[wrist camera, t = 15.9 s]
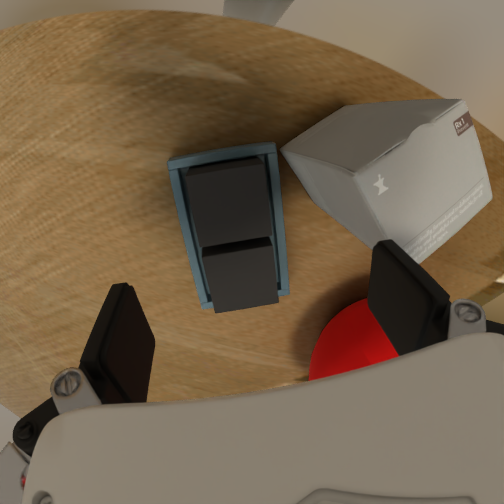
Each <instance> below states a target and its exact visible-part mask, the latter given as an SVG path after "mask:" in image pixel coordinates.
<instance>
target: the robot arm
mask: <svg viewBox="0 0 504 504" xmlns="http://www.w3.org/2000/svg"><path fill="white" fill-rule="evenodd" d="M449 298H450V295H449V294H448V293H447V292H446V291H445V290H444V289H443V288H442V287H441V286H440V285H439V284H438V283H437V282H436V281H435V280H434V279H433V278H432V277H431V276H430V275H429V274H428V273H427V272H426V271H425V270H424V269H423V268H422V267H421V266H420V265H419V264H418V263H417V262H416V261H415V260H414V259H413V258H411V257H410V256H409V255H408V254H407V253H406V252H405V251H404V250H403V249H402V248H401V247H400V246H399V245H398V244H396V243H395V242H394V241H393V240H392V239H388V240H382V241H378V242H377V244H376V245H375V246H374V247H373V252H372V263H371V273H370V282H369V290H368V298H367V304H368V307H369V309H370V311H371V312H372V314H373V315H374V317H375V318H376V320H377V321H378V323H379V325H380V326H381V328H382V329H383V331H384V332H385V334H386V336H387V337H388V339H389V340H390V342H391V344H392V345H393V347H394V348H395V350H396V352H397V353H398V355H399V356H398V357H395V358H392V359H389V360H386V361H383V362H380V363H376V364H373V365H369V366H366V367H363V368H359V369H355V370H352V371H348V372H344V373H340V374H336V375H332V376H328V377H324V378H320V379H316V380H311V381H307V382H302V383H297V384H293V385H288V386H282V387H277V388H272V389H266V390H260V391H254V392H247V393H240V394H233V395H226V396H218V397H209V398H200V399H189V400H177V401H162V402H146V400H147V393H148V386H149V380H150V373H151V367H152V361H153V355H154V349H155V338H154V335H153V333H152V331H151V328H150V326H149V324H148V322H147V319H146V317H145V315H144V312H143V310H142V307H141V305H140V302H139V300H138V298H137V295H136V292H135V290H134V288H133V286H129V285H128V283H119V284H113V285H112V286H111V288H110V290H109V293H108V295H107V297H106V299H105V301H104V304H103V306H102V308H101V310H100V313H99V315H98V317H97V320H96V322H95V324H94V327H93V329H92V332H91V334H90V336H89V339H88V341H87V344H86V346H85V349H84V352H83V354H82V357H81V359H80V365H79V368H74V367H71V368H66V369H64V370H62V371H61V372H59V373H58V374H57V375H56V376H55V377H54V379H53V381H52V383H51V387H50V391H51V395H52V397H51V398H49V399H48V400H46V401H45V402H44V403H42V404H41V405H40V406H38V407H37V408H35V409H34V410H33V411H31V412H30V413H28V414H27V415H26V416H24V417H23V418H21V419H20V420H19V421H18V422H17V424H16V425H15V427H14V430H13V441H14V442H13V443H11V442H8V444H7V445H6V446H5V447H4V448H3V450H2V451H1V452H0V504H504V324H500V323H496V322H493V321H489V320H486V316H485V312H484V310H483V309H482V307H481V306H480V305H479V304H478V303H476V302H474V301H472V300H469V299H458V300H456V301H454V302H453V303H451V302H450V301H449Z"/></svg>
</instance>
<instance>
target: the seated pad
mask: <svg viewBox="0 0 504 504" xmlns="http://www.w3.org/2000/svg"><path fill="white" fill-rule="evenodd" d="M202 262H203V266H204V270H205V274H206V278H207V283H208V287H209V291H210V295H211V299H212V303H213V307H214V311H215V313H222V312H228V311H234V310H240V309H246V308H252V307H257V306H263V305H269V304H274V303H279V299H278V289H277V278H276V269H275V259H274V249H273V244H272V242H271V240H270V237H269V236H266V237H260V238H254V239H248V240H242V241H236V242H230V243H224V244H219V245H213V246H207V247H202Z"/></svg>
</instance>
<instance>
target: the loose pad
mask: <svg viewBox="0 0 504 504" xmlns="http://www.w3.org/2000/svg"><path fill="white" fill-rule="evenodd" d="M185 180H186V185H187V190H188V195H189V200H190V205H191V209H192V214H193V219H194V224H195V228H196V233H197V237H198V242H199V246H200V248H201V247H207V246H213V245H219V244H224V243H230V242H236V241H242V240H248V239H254V238H260V237H266V236H272V226H271V217H270V208H269V199H268V190H267V181H266V173H265V165H264V163H263V162H262V161H261V160H260V159H259V158H258V157H257V156H253V157H246V158H240V159H233V160H227V161H221V162H215V163H209V164H203V165H198V166H193V167H189V169H188V171H187V173H186V176H185Z"/></svg>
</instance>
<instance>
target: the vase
mask: <svg viewBox="0 0 504 504" xmlns="http://www.w3.org/2000/svg"><path fill="white" fill-rule="evenodd" d="M398 356H399V355H398V353H397V352H396V350H395V348H394V347H393V345H392V344H391V342H390V340H389V339H388V337H387V336H386V334H385V332H384V331H383V329H382V328H381V326H380V325H379V323H378V321H377V320H376V318H375V317H374V315H373V314H372V312H371V311H370V309H369V307H368V304H367V298H366V299H363V300H360V301H358V302H355V303H353V304H351V305H349V306H348V307H346V308H344V309H343V310H342V311H340V312H339V313H338V314H337V315H336V316H335V317H333V318H332V319H331V320H330V322H329V323H328V324H327V325H326V327H325V328H324V329H323V330H322V332H321V335H320V337H319V339H318V341H317V343H316V345H315V348H314V350H313V352H312V356H311V362H310V369H309V381H311V380H316V379H320V378H324V377H328V376H332V375H336V374H340V373H344V372H348V371H352V370H355V369H359V368H363V367H366V366H369V365H373V364H376V363H380V362H383V361H386V360H389V359H392V358H395V357H398Z"/></svg>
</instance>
